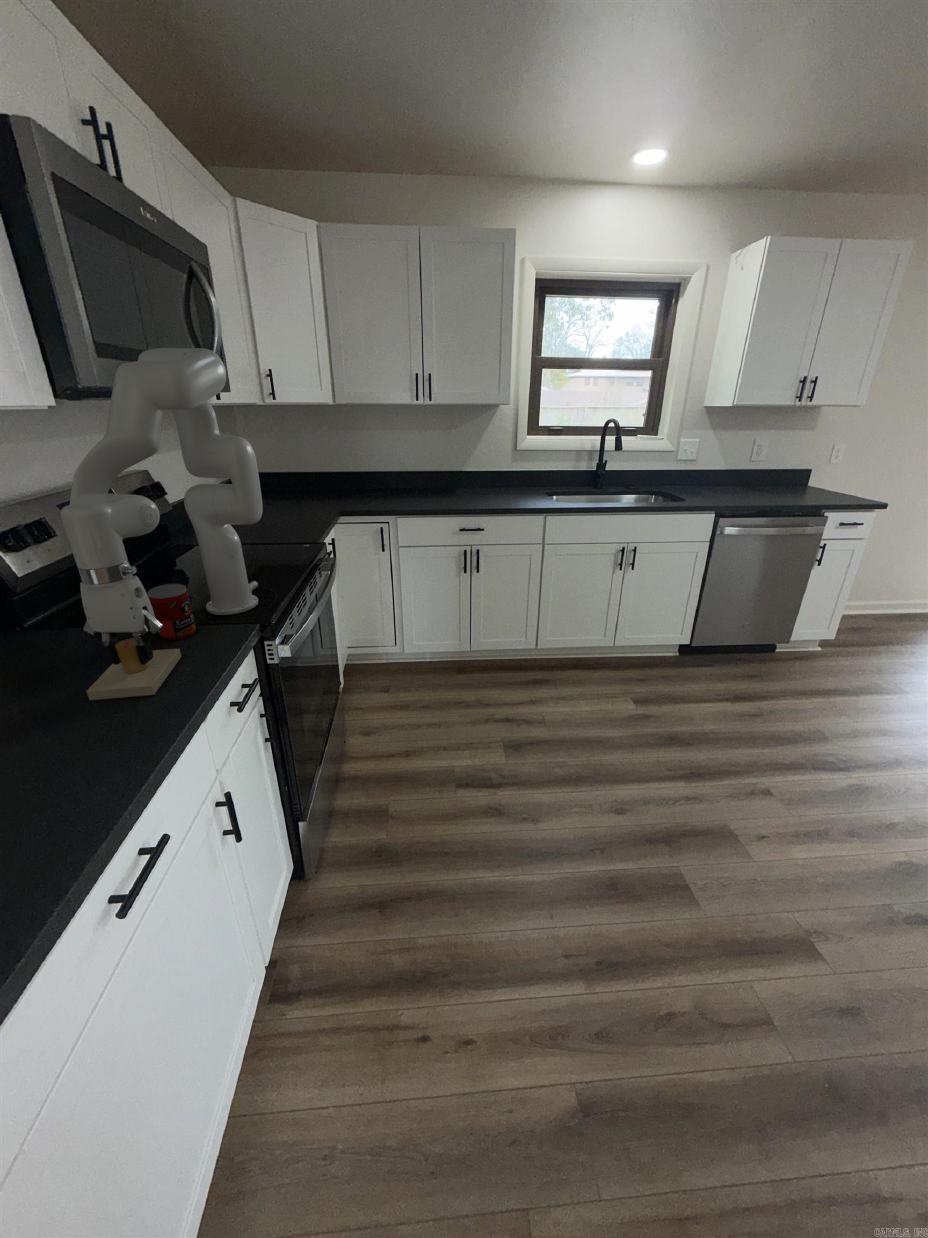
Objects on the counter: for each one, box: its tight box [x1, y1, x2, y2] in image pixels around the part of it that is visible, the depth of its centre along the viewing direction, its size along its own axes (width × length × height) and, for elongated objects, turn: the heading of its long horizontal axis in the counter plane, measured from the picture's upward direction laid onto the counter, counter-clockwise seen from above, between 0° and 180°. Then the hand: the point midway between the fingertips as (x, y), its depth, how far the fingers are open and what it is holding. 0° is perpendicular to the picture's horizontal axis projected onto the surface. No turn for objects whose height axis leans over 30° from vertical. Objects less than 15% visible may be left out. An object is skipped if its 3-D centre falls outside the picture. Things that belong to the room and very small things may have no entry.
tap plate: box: [85, 648, 182, 701], centre depth 98 cm, size 15×11×2 cm
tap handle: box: [115, 637, 149, 674], centre depth 96 cm, size 4×4×6 cm
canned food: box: [147, 583, 197, 641], centre depth 114 cm, size 8×8×11 cm
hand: (133, 660), depth 97 cm, fingers closed on tap handle, 4 cm apart
